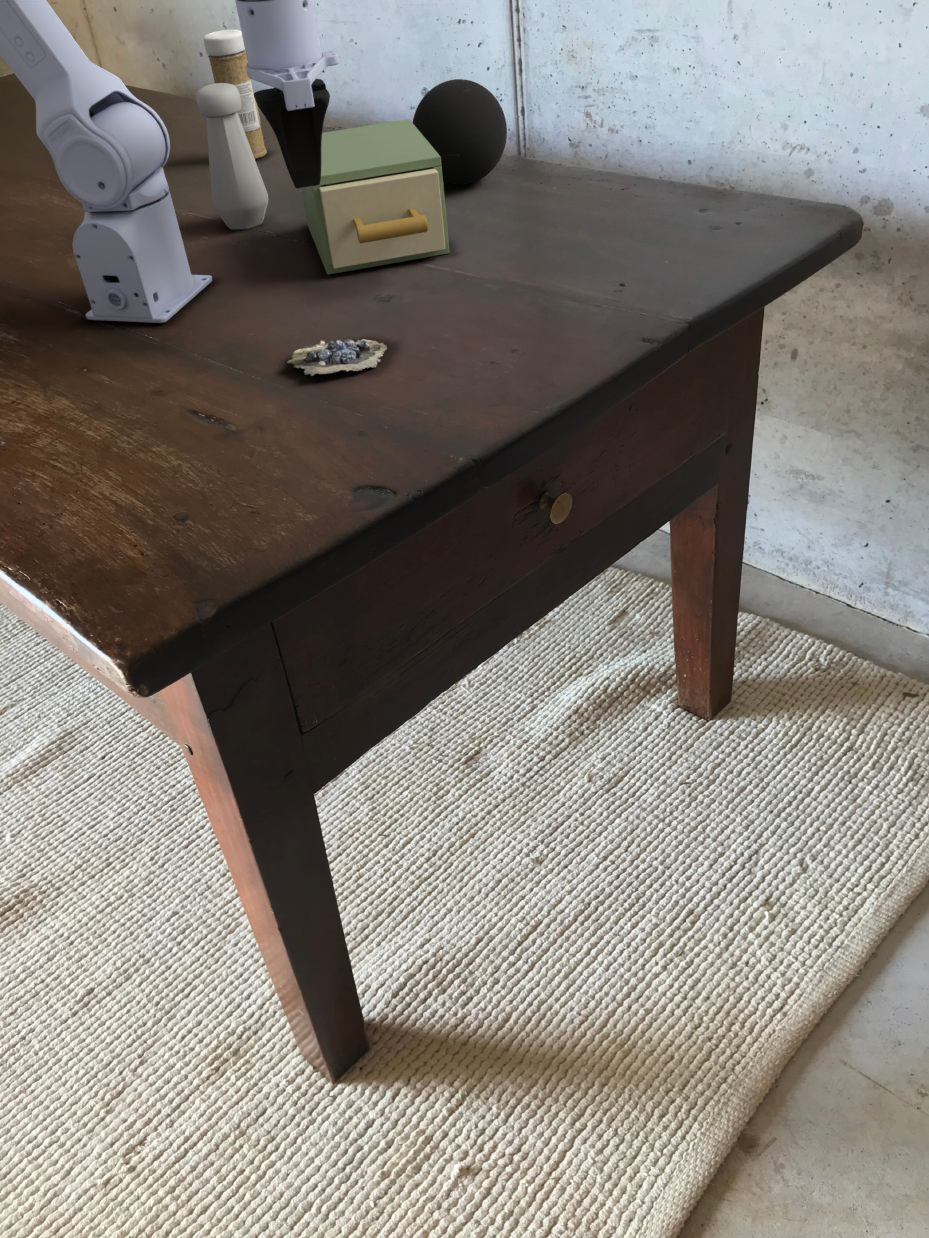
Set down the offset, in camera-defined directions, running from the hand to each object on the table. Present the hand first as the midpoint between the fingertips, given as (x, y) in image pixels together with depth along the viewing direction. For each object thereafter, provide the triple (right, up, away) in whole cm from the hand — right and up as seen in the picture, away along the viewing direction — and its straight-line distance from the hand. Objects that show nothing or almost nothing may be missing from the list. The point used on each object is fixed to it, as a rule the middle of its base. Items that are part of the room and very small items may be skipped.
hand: (307, 184), depth 84 cm
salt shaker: (-10, +5, +23) cm, 25 cm away
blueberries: (+3, -16, -4) cm, 17 cm away
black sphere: (+13, +11, +27) cm, 32 cm away
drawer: (+5, -1, +12) cm, 13 cm away
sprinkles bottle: (-13, +21, +41) cm, 48 cm away
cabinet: (+4, +1, +15) cm, 16 cm away
